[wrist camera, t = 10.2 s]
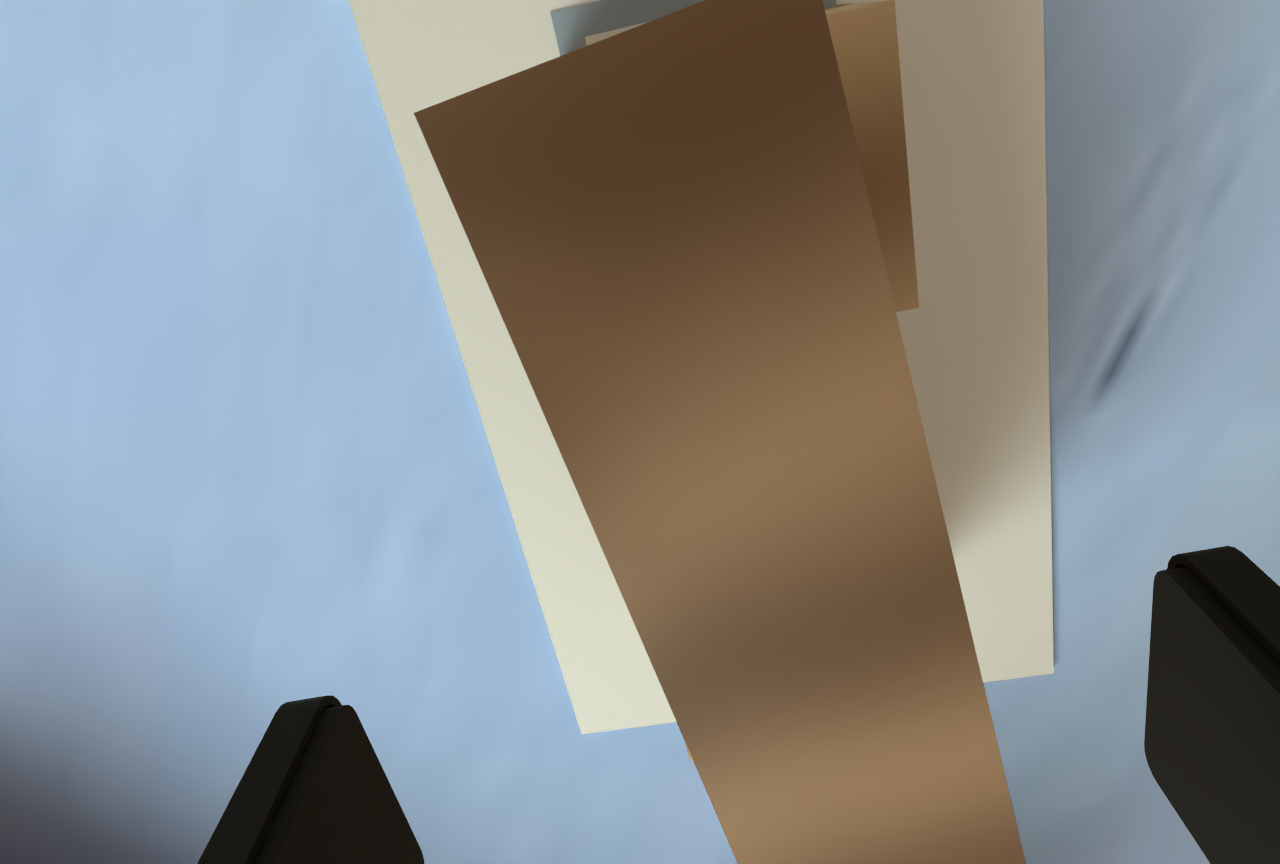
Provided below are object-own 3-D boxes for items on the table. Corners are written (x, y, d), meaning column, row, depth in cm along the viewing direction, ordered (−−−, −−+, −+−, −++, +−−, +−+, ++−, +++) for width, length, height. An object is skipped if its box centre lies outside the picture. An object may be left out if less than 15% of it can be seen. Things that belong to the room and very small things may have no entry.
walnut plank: (499, 82, 14) (413, 112, 10) (768, -23, 13) (813, -42, 9) (768, 774, 20) (792, 989, 16) (961, 733, 20) (1045, 947, 15)
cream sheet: (330, -68, 18) (325, -70, 18) (1035, -253, 16) (1041, -257, 16) (582, 729, 27) (581, 736, 27) (1051, 669, 25) (1054, 675, 25)
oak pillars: (558, 69, 19) (519, 86, 14) (841, 3, 18) (894, 0, 13) (688, 625, 25) (690, 760, 20) (902, 595, 24) (952, 728, 20)
